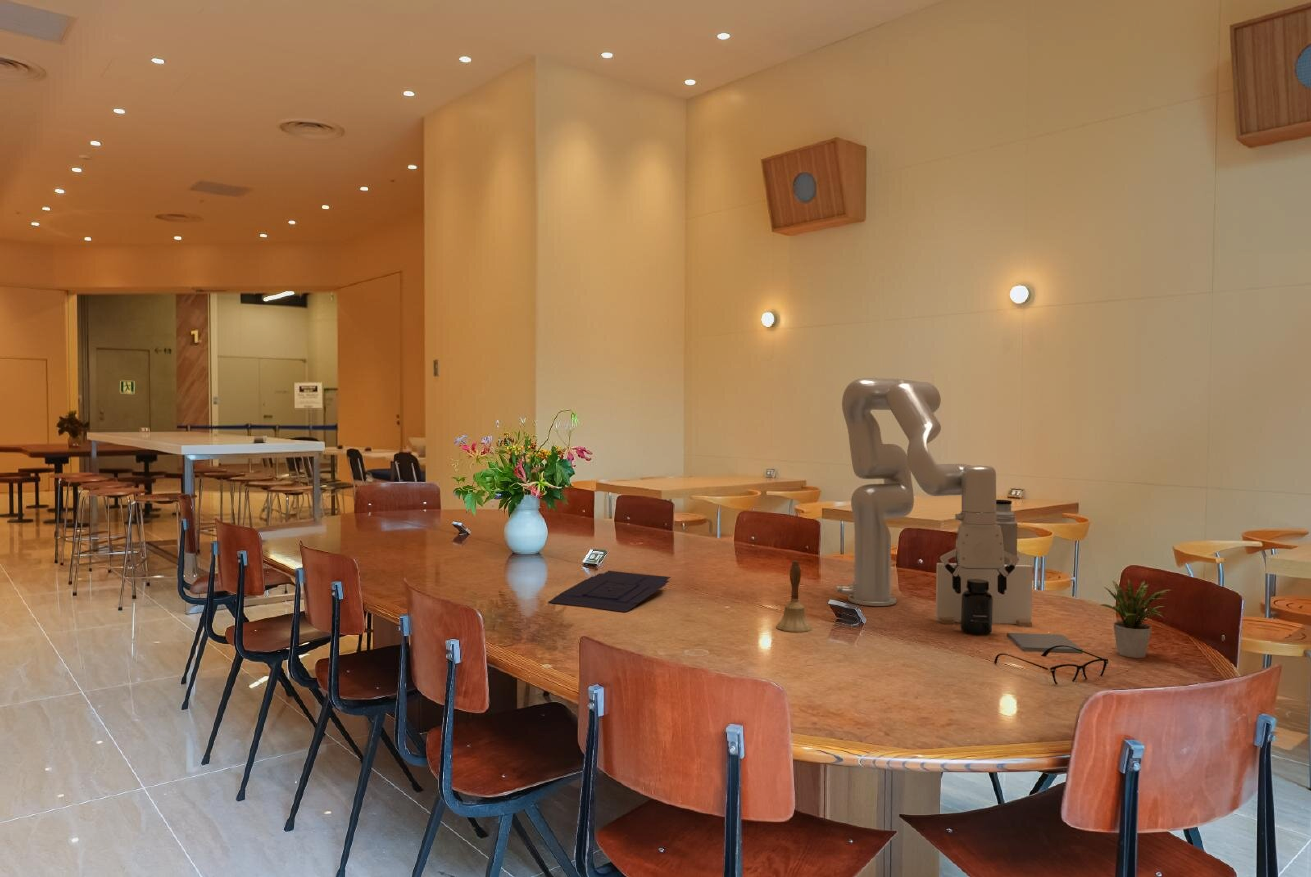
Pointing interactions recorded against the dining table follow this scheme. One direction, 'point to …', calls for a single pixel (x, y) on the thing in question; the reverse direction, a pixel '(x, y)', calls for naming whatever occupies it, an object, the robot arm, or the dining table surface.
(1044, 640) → the pad
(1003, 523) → the thermos bottle
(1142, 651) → the house plant
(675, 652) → the dining table surface
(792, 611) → the hand bell
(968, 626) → the supplement bottle
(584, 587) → the black flat stepped slab
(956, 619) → the screen
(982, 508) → the robot arm
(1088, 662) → the eyeglasses
